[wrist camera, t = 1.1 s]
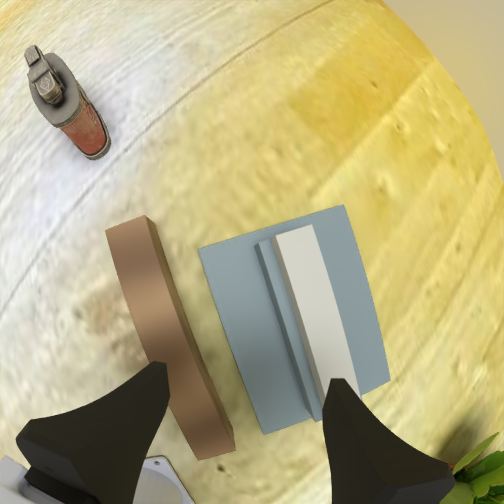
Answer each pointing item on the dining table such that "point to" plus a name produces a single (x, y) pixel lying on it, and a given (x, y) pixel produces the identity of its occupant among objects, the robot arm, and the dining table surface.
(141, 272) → the walnut bar
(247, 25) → the dining table surface
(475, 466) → the potted flower
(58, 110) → the lighter
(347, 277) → the ridge stand
